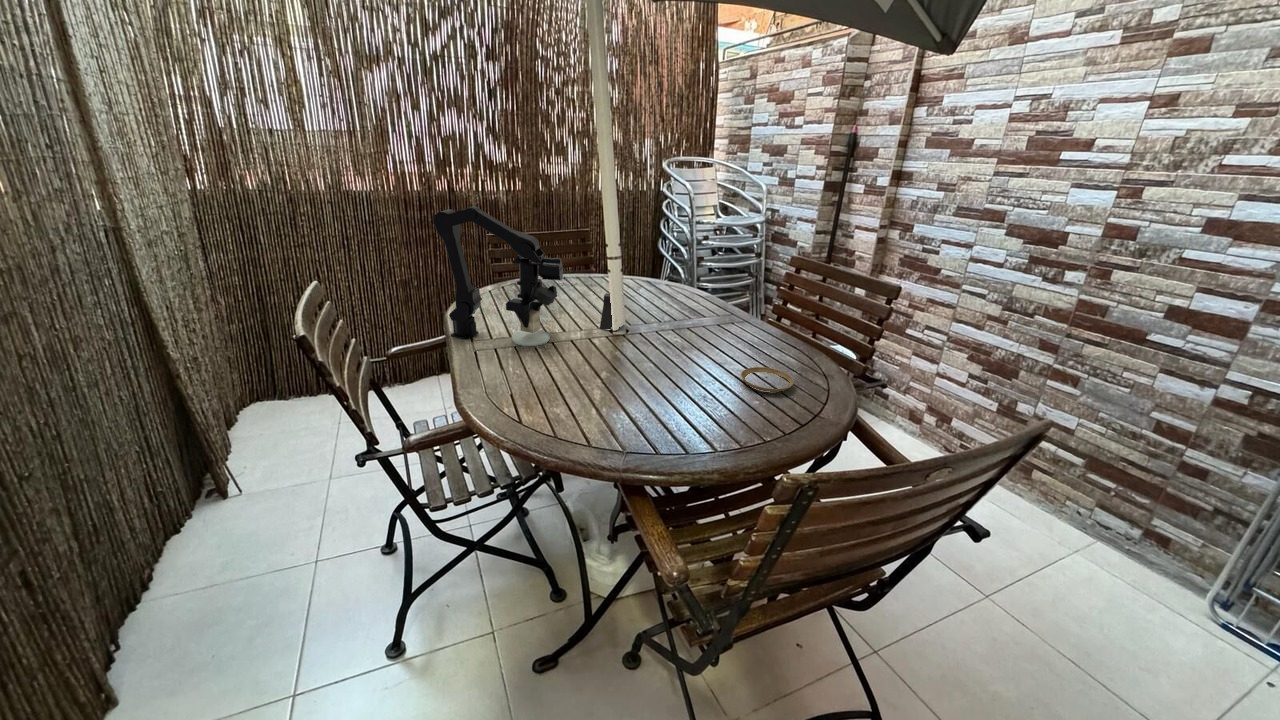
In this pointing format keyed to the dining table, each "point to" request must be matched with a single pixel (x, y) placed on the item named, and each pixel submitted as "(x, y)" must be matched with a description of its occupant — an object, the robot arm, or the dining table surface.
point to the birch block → (532, 322)
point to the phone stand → (606, 313)
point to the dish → (530, 338)
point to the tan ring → (768, 370)
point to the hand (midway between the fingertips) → (530, 325)
